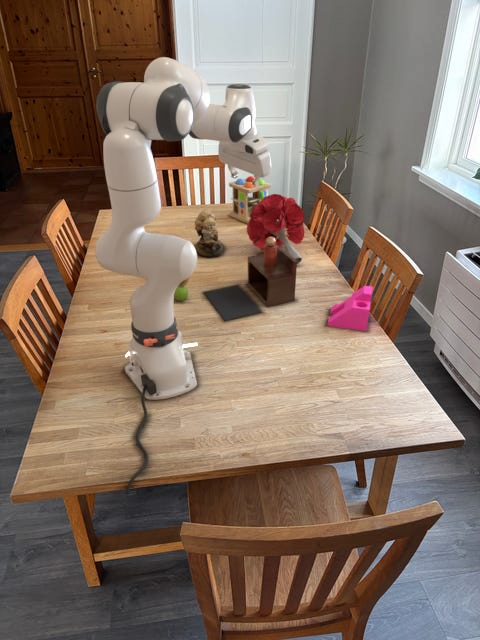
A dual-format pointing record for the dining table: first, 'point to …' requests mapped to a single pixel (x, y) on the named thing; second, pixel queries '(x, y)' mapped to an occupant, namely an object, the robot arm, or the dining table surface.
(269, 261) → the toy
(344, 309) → the bracket
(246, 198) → the pounding bench toy
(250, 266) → the open-top box
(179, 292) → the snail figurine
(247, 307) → the felt mat
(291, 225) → the bouquet
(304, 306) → the dining table surface
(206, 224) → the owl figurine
